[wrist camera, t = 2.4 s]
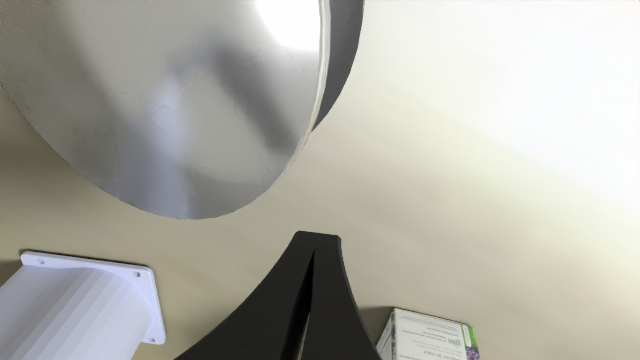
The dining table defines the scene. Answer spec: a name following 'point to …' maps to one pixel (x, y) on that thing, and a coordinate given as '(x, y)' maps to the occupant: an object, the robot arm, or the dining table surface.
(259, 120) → the cooker lid
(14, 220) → the dining table surface
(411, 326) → the syrup box
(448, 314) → the dining table surface
